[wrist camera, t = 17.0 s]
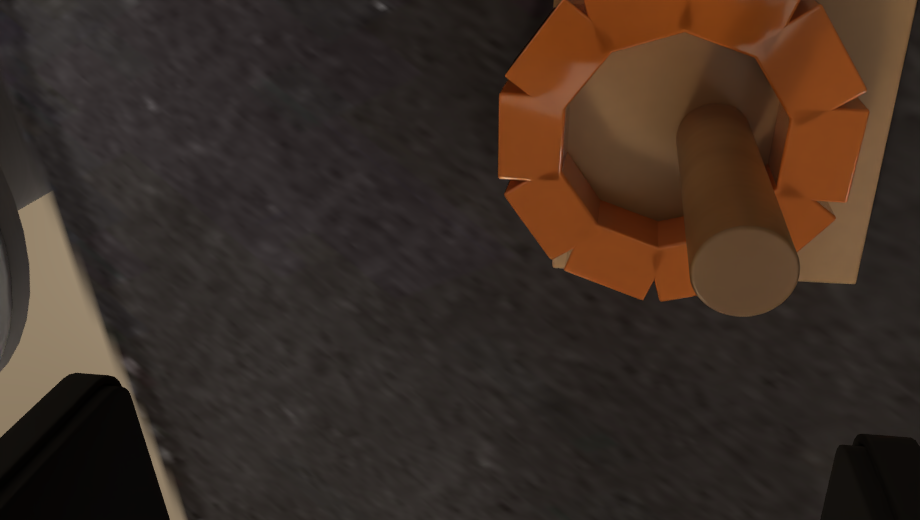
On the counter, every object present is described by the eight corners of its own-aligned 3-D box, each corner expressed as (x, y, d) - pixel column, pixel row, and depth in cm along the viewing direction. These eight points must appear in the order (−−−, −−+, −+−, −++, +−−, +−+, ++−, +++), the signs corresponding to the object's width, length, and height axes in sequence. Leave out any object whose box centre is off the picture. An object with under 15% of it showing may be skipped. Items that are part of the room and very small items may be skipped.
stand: (556, 247, 26) (515, 433, 18) (559, -36, 22) (505, 36, 13) (844, 261, 24) (948, 477, 16) (908, -46, 20) (1093, 30, 12)
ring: (505, 259, 25) (496, 286, 23) (511, -56, 20) (499, -48, 19) (807, 286, 23) (819, 318, 21) (887, -53, 18) (908, -43, 17)
